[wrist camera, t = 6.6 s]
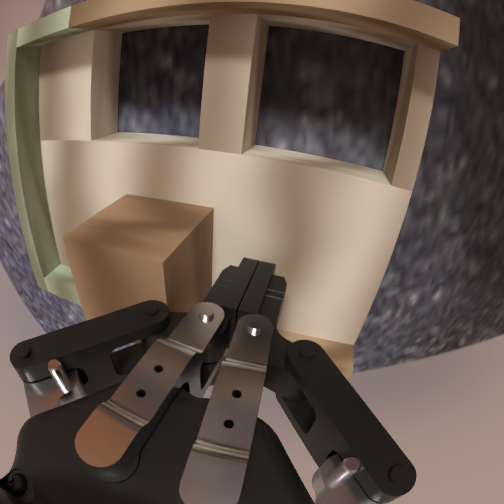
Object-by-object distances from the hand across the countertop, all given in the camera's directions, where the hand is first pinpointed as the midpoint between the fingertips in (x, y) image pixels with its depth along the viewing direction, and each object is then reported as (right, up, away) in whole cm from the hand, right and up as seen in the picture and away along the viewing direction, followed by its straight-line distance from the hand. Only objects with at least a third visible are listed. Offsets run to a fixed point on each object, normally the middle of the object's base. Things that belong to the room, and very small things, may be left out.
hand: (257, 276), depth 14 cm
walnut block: (-5, +2, +2) cm, 5 cm away
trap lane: (-4, +6, +2) cm, 7 cm away
